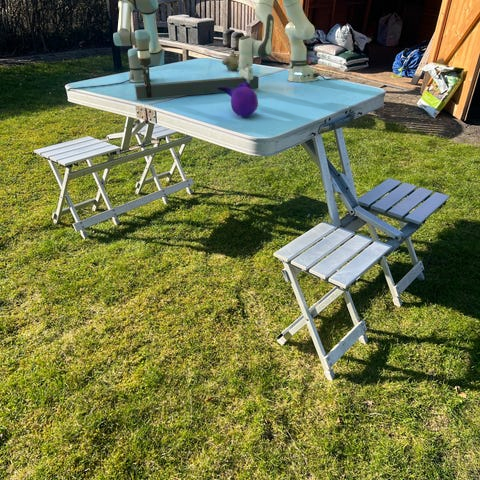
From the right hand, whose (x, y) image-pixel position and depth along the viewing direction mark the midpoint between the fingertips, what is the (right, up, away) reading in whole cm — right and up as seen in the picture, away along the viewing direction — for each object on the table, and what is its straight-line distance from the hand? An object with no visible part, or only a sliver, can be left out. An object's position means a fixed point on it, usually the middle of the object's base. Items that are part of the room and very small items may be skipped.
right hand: (246, 84), depth 303 cm
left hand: (-63, -13, -15) cm, 66 cm away
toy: (-4, -34, -50) cm, 60 cm away
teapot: (-9, +35, +68) cm, 78 cm away
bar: (-31, -8, -7) cm, 33 cm away
